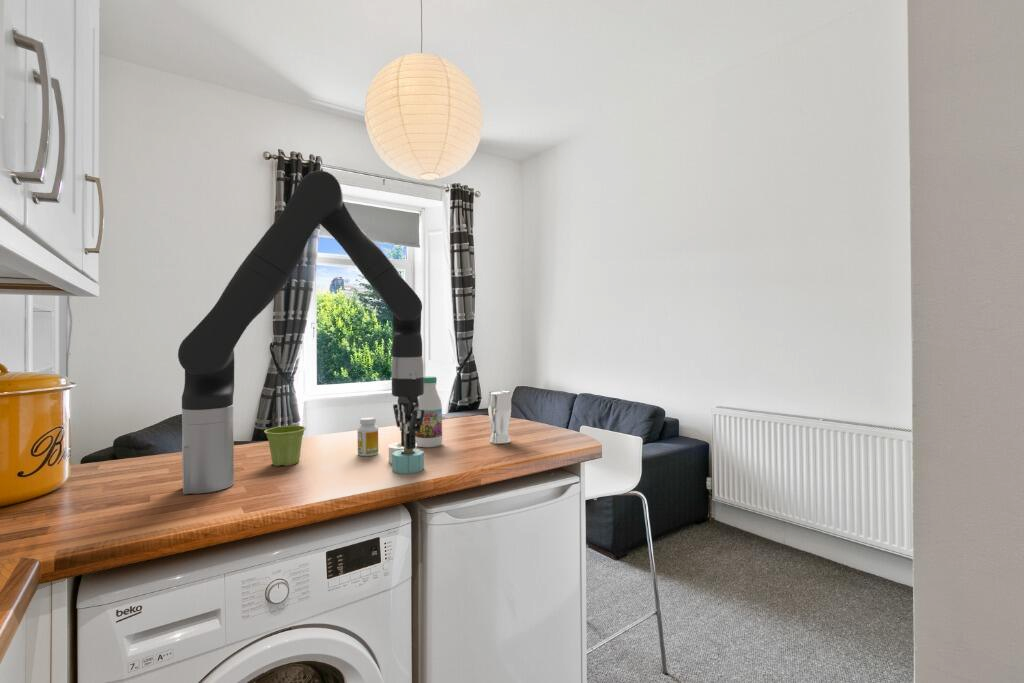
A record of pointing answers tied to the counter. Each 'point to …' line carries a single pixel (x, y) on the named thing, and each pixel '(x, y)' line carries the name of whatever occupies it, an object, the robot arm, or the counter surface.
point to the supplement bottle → (367, 437)
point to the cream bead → (395, 449)
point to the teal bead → (407, 461)
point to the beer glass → (499, 416)
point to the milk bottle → (430, 415)
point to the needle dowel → (406, 451)
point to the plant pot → (285, 444)
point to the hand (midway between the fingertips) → (408, 447)
